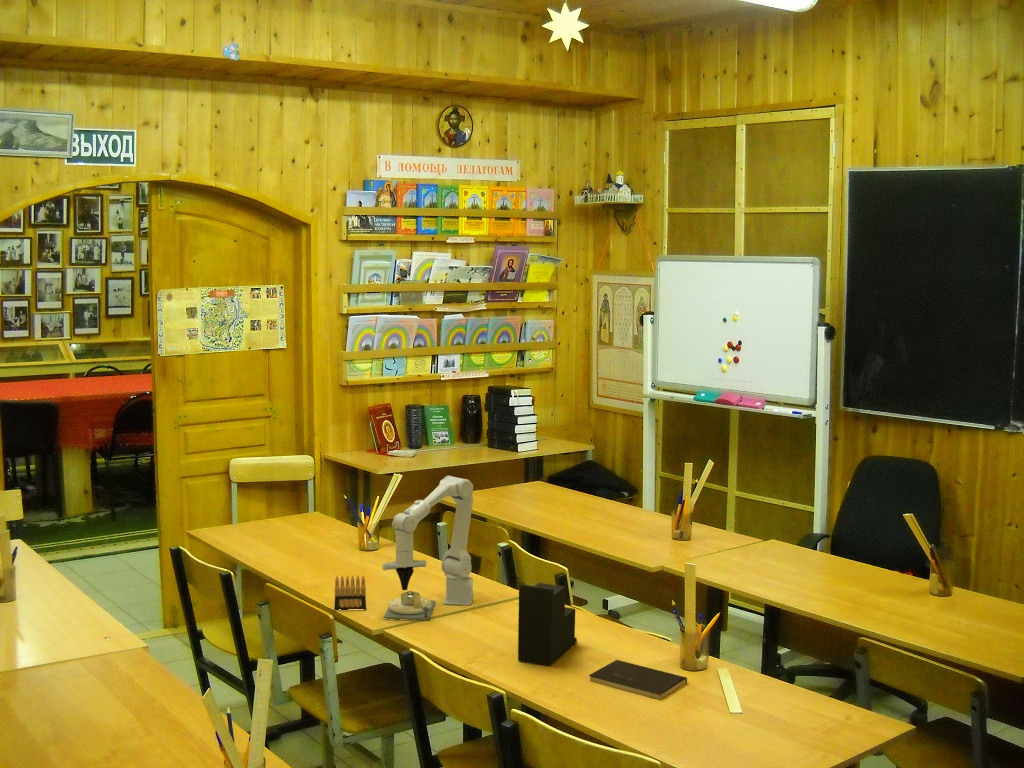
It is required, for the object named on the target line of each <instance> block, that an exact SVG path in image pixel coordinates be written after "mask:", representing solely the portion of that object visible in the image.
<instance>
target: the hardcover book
mask: <svg viewBox="0 0 1024 768" xmlns="http://www.w3.org/2000/svg"><path fill="white" fill-rule="evenodd" d="M588 677H589V678H590V679H589V681H590V680H591V682H594V683H598V684H602V685H605V686H608V687H612V688H617V689H620V690H624V691H627V692H630V693H635V694H639V695H642V696H645V697H649V698H652V699H657V700H661V699H663V698H665V697H667V695H669V694H671V693H672V692H674V691H675V690H677V689H679V688H680V687H682V686H683V685H685V684H687V683H688V677H687V676H682V675H679V674H674V673H671V672H667V671H663V670H659V669H655V668H650V667H647V666H643V665H639V664H635V663H633V662H632V663H631V662H629V661H623V660H619V659H615V660H613V661H611V662H610V663H608V664H607V665H605V666H603V667H600V668H599V669H597V670H596V671H594V672H591V673H590V674H588Z"/></svg>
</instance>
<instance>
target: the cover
mask: <svg viewBox="0 0 1024 768" xmlns="http://www.w3.org/2000/svg"><path fill="white" fill-rule="evenodd" d="M414 595H420V596H421V594H420V593H419V592H417V591H413V590H409V591H408V590H407V591H405V592H402V593H401V594H400V598H401V604H402V605H405V606H413V596H414Z"/></svg>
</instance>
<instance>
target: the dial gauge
mask: <svg viewBox="0 0 1024 768" xmlns="http://www.w3.org/2000/svg"><path fill="white" fill-rule="evenodd" d="M429 600H430V599H428V600H423V601H422V602H421V608H422V610H424V617H428V610H430V609H431V606H432V604H431V602H430V601H429Z"/></svg>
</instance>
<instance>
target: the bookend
mask: <svg viewBox="0 0 1024 768" xmlns="http://www.w3.org/2000/svg"><path fill="white" fill-rule="evenodd" d="M517 626H518V629H517V631H518V633H517V634H518V635H517V639H518V641H517V661H519V662H525V663H532V664H538V665H545V666H552V665H553V664H554V663H555V662H556V661H558V660H559V658H561V657H562V656H563V655H565V653H566V652H567V651H569V650H570V649H571V648H572V647H573V646H574V645H575V644H576V643H578V638H577V637H576V608H572V607H567V606H566V586H564V585H559V584H557V585H556V584H549V583H543V582H538V583H536V585H527V584H521V583H520V584H519V585H518V625H517ZM575 642H576V643H575ZM572 645H573V646H572ZM571 646H572V647H571ZM569 648H570V649H569ZM568 649H569V650H568Z"/></svg>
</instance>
